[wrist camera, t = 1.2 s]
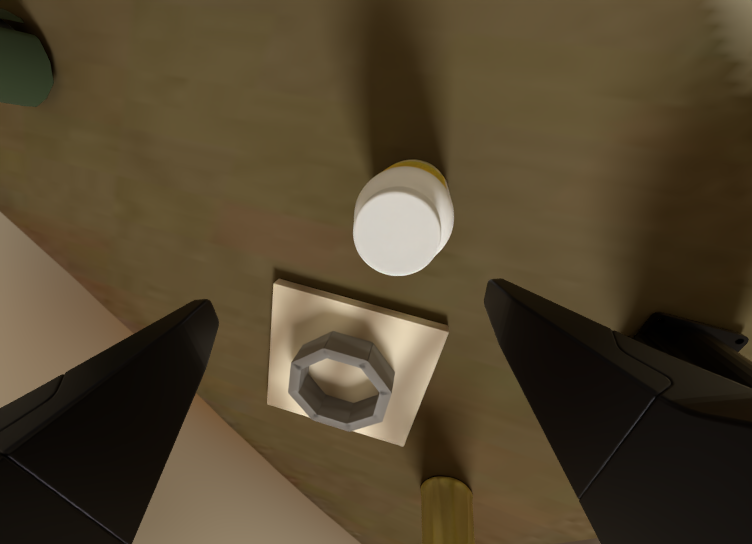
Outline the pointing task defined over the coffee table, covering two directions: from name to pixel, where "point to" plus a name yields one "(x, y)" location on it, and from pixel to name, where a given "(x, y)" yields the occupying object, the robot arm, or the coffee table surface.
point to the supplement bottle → (403, 218)
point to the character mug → (22, 66)
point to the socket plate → (349, 361)
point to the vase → (446, 512)
